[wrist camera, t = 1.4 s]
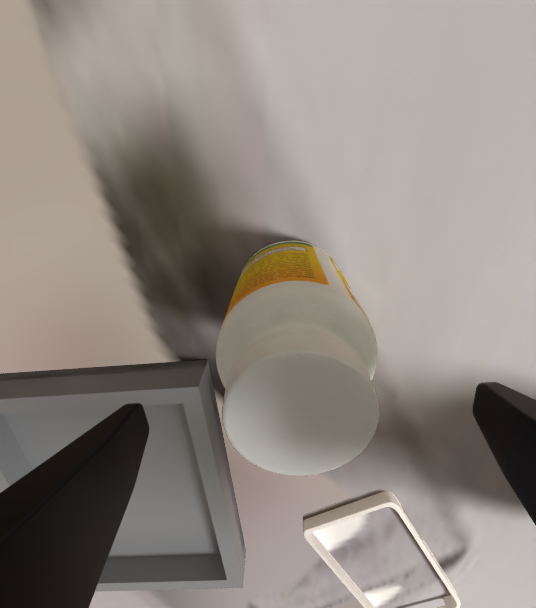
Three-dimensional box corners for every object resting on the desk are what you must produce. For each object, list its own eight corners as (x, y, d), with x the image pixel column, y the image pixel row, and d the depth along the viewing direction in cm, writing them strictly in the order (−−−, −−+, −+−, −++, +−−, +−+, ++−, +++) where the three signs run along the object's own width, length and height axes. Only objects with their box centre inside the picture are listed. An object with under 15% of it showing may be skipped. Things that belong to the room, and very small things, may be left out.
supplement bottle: (361, 273, 16) (460, 397, 8) (302, 349, 18) (326, 519, 10) (272, 216, 15) (267, 283, 7) (219, 302, 17) (160, 444, 8)
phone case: (298, 514, 25) (376, 609, 30) (299, 533, 23) (381, 628, 28) (388, 482, 23) (455, 588, 28) (395, 500, 22) (464, 607, 27)
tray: (245, 550, 26) (242, 587, 23) (78, 555, 27) (59, 592, 24) (208, 359, 19) (198, 386, 16) (-19, 375, 20) (-58, 403, 17)
